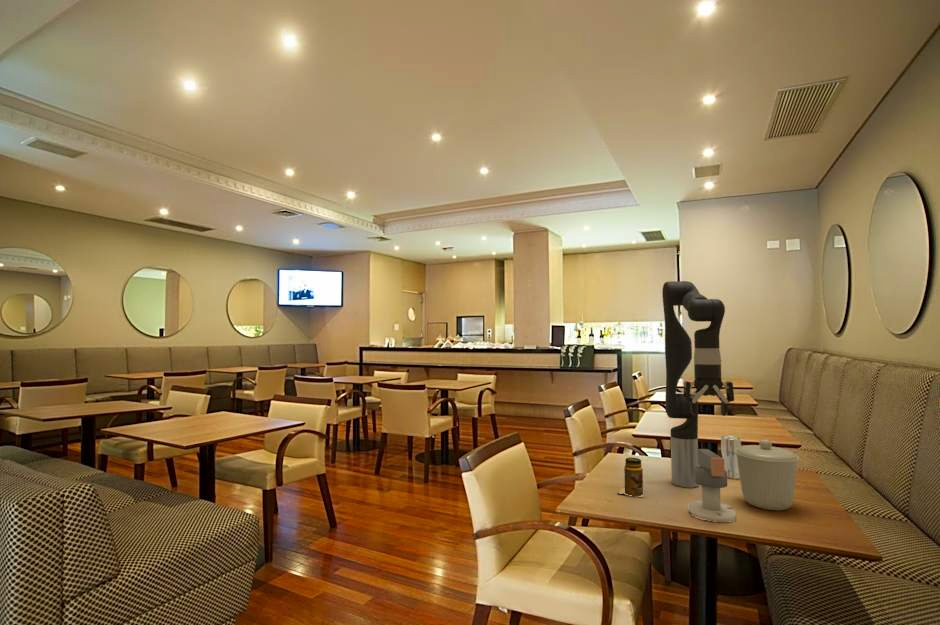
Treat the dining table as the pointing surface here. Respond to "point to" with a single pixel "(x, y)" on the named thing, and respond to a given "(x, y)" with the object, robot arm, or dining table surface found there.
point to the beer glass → (730, 455)
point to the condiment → (633, 477)
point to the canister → (767, 475)
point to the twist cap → (710, 470)
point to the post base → (712, 514)
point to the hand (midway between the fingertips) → (709, 415)
